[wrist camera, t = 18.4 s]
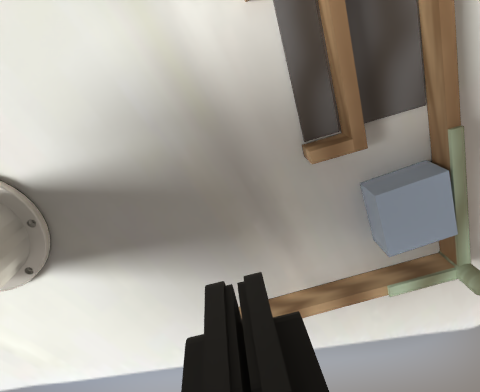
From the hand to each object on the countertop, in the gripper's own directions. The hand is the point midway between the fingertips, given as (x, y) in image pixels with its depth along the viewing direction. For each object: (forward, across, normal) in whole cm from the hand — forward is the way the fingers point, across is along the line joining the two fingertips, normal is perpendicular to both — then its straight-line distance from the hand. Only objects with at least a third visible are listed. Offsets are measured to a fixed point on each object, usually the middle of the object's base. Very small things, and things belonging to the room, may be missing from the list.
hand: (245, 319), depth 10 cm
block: (+25, -17, +10) cm, 32 cm away
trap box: (+25, -9, +4) cm, 27 cm away
